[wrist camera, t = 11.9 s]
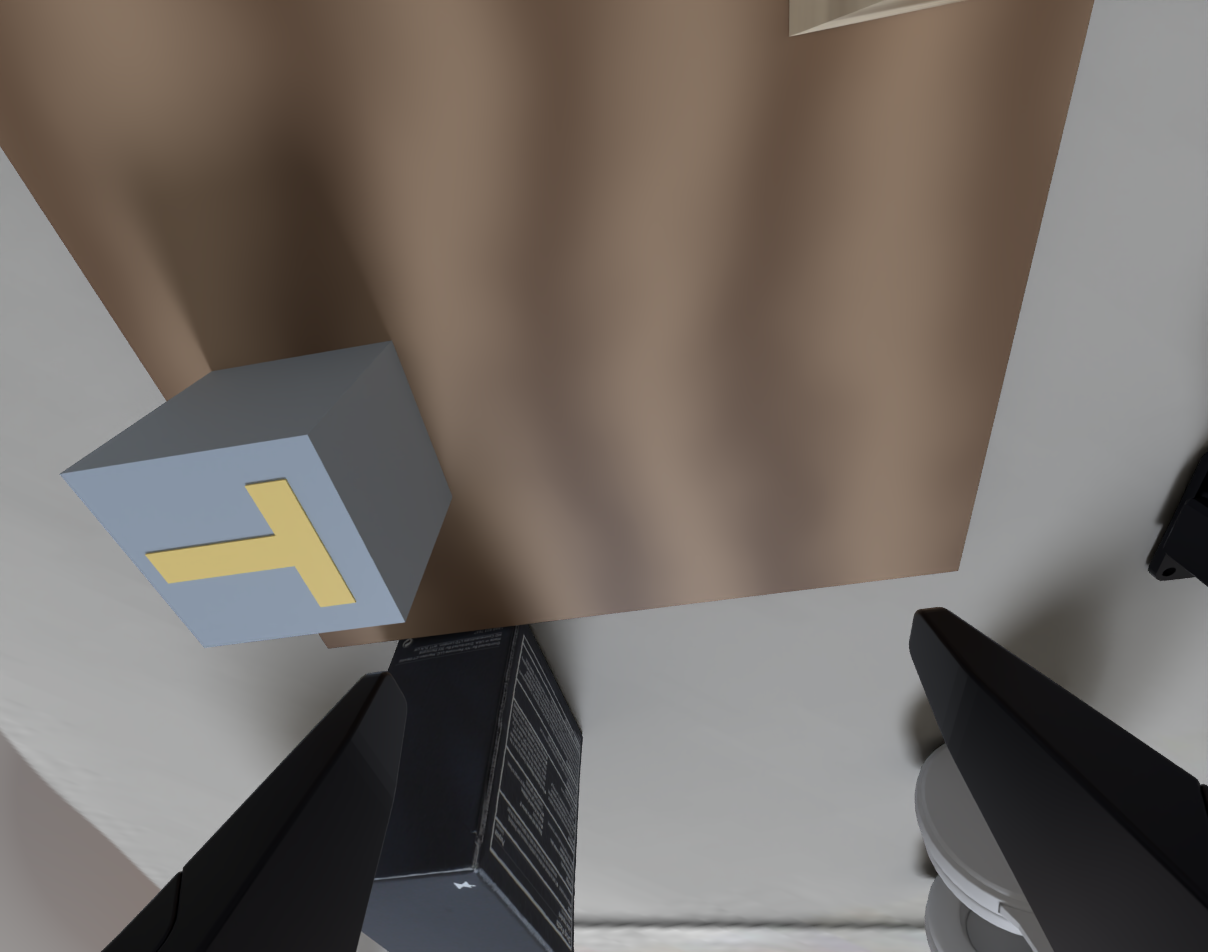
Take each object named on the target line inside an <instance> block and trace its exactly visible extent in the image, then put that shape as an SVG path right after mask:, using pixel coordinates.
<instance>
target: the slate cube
mask: <svg viewBox="0 0 1208 952" xmlns="http://www.w3.org/2000/svg"><path fill="white" fill-rule="evenodd" d="M60 475H61V476H62V477H63V479H64V480H65V481H66V482H67V483H68V485H69V486H70V487H71V488H72V489H73V491H74V492H75V493H76V494H77V495H78V497H79V498H80V499H81V500H82V501H83V503H84V504H85V505H86V506H87V507H88V509H89V510H90V511H91V512H92V513H93V515H94V516H95V517H96V518H97V519H98V521H99V522H100V523H101V524H102V525H103V527H104V528H105V529H106V530H107V531H108V533H109V534H110V535H111V536H112V537H113V539H114V540H115V541H116V542H117V543H118V545H119V546H120V547H121V548H122V549H123V551H124V552H125V553H126V554H127V555H128V557H129V558H130V559H131V560H132V561H133V563H134V564H135V565H136V566H137V567H138V569H139V570H140V571H141V572H142V574H143V575H144V576H145V577H146V578H147V580H148V581H149V582H150V583H151V584H152V586H153V587H154V588H155V589H156V590H157V592H158V593H159V594H160V595H161V596H162V598H163V599H164V600H165V601H166V602H167V604H168V605H169V606H170V607H171V608H172V610H173V611H174V612H175V613H176V614H177V616H178V617H179V618H180V619H181V620H182V622H183V623H184V624H185V625H186V626H187V628H188V629H189V630H190V631H191V632H192V634H193V635H194V636H195V637H196V638H197V640H198V641H199V642H200V643H201V644H202V646H203V647H204V648H206V647H214V646H222V645H230V644H238V643H246V642H254V641H262V640H269V639H277V638H285V637H293V636H301V635H309V634H317V633H325V632H333V631H341V630H348V629H356V628H364V627H372V626H380V625H388V624H396V623H404V622H406V619H407V616H408V614H409V611H410V608H411V606H412V603H413V600H414V598H415V595H416V592H417V590H418V587H419V584H420V582H421V579H422V577H423V574H424V571H425V569H426V566H427V563H428V561H429V558H430V555H431V553H432V550H433V547H434V545H435V542H436V539H437V537H438V534H439V532H440V529H441V526H442V524H443V521H444V518H445V516H446V513H447V510H448V508H449V505H450V502H451V500H452V494H451V492H450V489H449V487H448V484H447V481H446V479H445V476H444V474H443V471H442V469H441V466H440V463H439V461H438V458H437V456H436V453H435V450H434V448H433V445H432V443H431V440H430V437H429V435H428V432H427V430H426V427H425V425H424V422H423V419H422V417H421V414H420V412H419V409H418V406H417V404H416V401H415V399H414V396H413V394H412V391H411V388H410V386H409V383H408V381H407V378H406V375H405V373H404V370H403V368H402V365H401V363H400V360H399V357H398V355H397V352H396V350H395V347H394V344H393V342H392V340H391V341H386V342H380V343H374V344H368V345H362V346H356V347H351V348H345V349H339V350H333V351H327V352H321V353H316V354H310V355H304V356H298V357H292V358H286V359H280V360H275V361H269V362H263V363H257V364H251V365H245V366H240V367H234V368H228V369H222V370H216V371H211V372H210V373H208V374H207V375H205V376H204V377H202V378H201V379H199V380H198V381H196V382H195V383H193V384H192V385H191V386H189V387H188V388H186V389H185V390H183V391H182V392H180V393H179V394H177V395H176V396H174V397H173V398H171V399H170V400H168V401H167V402H165V403H164V404H162V405H161V406H159V407H158V408H157V409H155V410H154V411H152V412H151V413H149V414H148V415H146V416H145V417H143V418H142V419H140V420H139V421H137V422H136V423H134V424H133V425H131V426H130V427H128V428H127V429H125V430H124V431H122V432H121V433H120V434H118V435H117V436H115V437H114V438H112V439H111V440H109V441H108V442H106V443H105V444H103V445H102V446H100V447H99V448H97V449H96V450H94V451H93V452H91V453H90V454H88V455H87V456H85V457H84V458H83V459H81V460H80V461H78V462H77V463H75V464H74V465H72V466H71V467H69V468H68V469H66V470H65V471H63V472H62V473H60Z"/></svg>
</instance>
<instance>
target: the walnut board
mask: <svg viewBox="0 0 1208 952" xmlns="http://www.w3.org/2000/svg"><path fill="white" fill-rule="evenodd" d="M1093 4H1094V0H966V1H961V2H956V3H951V4H946V5H941V6H937V7H932V8H927V9H922V10H917V11H912V12H907V13H902V14H898V15H893V16H888V17H883V18H878V19H873V20H868V21H863V22H859V23H854V24H849V25H844V26H839V27H834V28H829V29H824V30H820V31H815V32H810V33H805V34H800V35H795V36H790V37H789V0H0V146H1V148H2V150H3V151H4V153H5V154H6V156H7V157H8V159H9V160H10V162H11V163H12V165H13V166H14V168H15V169H16V171H17V173H18V174H19V176H20V177H21V179H22V180H23V182H24V183H25V185H26V186H27V188H28V189H29V191H30V192H31V194H32V196H33V197H34V199H35V200H36V202H37V203H38V205H39V206H40V208H41V209H42V211H43V212H44V214H45V215H46V217H47V218H48V220H49V222H50V223H51V225H52V226H53V228H54V229H55V231H56V232H57V234H58V235H59V237H60V238H61V240H62V241H63V243H64V245H65V246H66V248H67V249H68V251H69V252H70V254H71V255H72V257H73V258H74V260H75V261H76V263H77V264H78V266H79V268H80V269H81V271H82V272H83V274H84V275H85V277H86V278H87V280H88V281H89V283H90V284H91V286H92V287H93V289H94V291H95V292H96V294H97V295H98V297H99V298H100V300H101V301H102V303H103V304H104V306H105V307H106V309H107V310H108V312H109V314H110V315H111V317H112V318H113V320H114V321H115V323H116V324H117V326H118V327H119V329H120V330H121V332H122V333H123V335H124V337H125V338H126V340H127V341H128V343H129V344H130V346H131V347H132V349H133V350H134V352H135V353H136V355H137V356H138V358H139V360H140V361H141V363H142V364H143V366H144V367H145V369H146V370H147V372H148V373H149V375H150V376H151V378H152V379H153V381H154V383H155V384H156V386H157V387H158V389H159V390H160V392H161V393H162V395H163V396H164V398H165V399H166V401H168V400H170V399H171V398H173V397H174V396H176V395H177V394H179V393H180V392H182V391H183V390H185V389H186V388H188V387H189V386H191V385H192V384H193V383H195V382H196V381H198V380H199V379H201V378H202V377H204V376H205V375H207V374H208V373H210V372H211V371H216V370H222V369H228V368H234V367H240V366H245V365H251V364H257V363H263V362H269V361H275V360H280V359H286V358H292V357H298V356H304V355H310V354H316V353H321V352H327V351H333V350H339V349H345V348H351V347H356V346H362V345H368V344H374V343H380V342H386V341H391V340H392V342H393V344H394V347H395V350H396V352H397V355H398V357H399V360H400V363H401V365H402V368H403V370H404V373H405V375H406V378H407V381H408V383H409V386H410V388H411V391H412V394H413V396H414V399H415V401H416V404H417V406H418V409H419V412H420V414H421V417H422V419H423V422H424V425H425V427H426V430H427V432H428V435H429V437H430V440H431V443H432V445H433V448H434V450H435V453H436V456H437V458H438V461H439V463H440V466H441V469H442V471H443V474H444V476H445V479H446V481H447V484H448V487H449V489H450V492H451V494H452V500H451V502H450V505H449V508H448V510H447V513H446V516H445V518H444V521H443V524H442V526H441V529H440V532H439V534H438V537H437V539H436V542H435V545H434V547H433V550H432V553H431V555H430V558H429V561H428V563H427V566H426V569H425V571H424V574H423V577H422V579H421V582H420V584H419V587H418V590H417V592H416V595H415V598H414V600H413V603H412V606H411V608H410V611H409V614H408V616H407V619H406V622H404V623H396V624H388V625H380V626H372V627H364V628H356V629H348V630H341V631H333V632H325V633H318V634H319V635H320V637H321V638H322V640H323V642H324V643H325V645H326V646H327V648H328V649H329V648H337V647H345V646H353V645H361V644H369V643H377V642H386V641H394V640H402V639H410V638H418V637H426V636H434V635H442V634H450V633H458V632H467V631H475V630H483V629H491V628H499V627H507V626H515V625H523V624H531V623H539V622H547V621H556V620H564V619H572V618H580V617H588V616H596V615H604V614H612V613H620V612H628V611H637V610H645V609H653V608H661V607H669V606H677V605H685V604H693V603H701V602H709V601H718V600H726V599H734V598H742V597H750V596H758V595H766V594H774V593H782V592H790V591H799V590H807V589H815V588H823V587H831V586H839V585H847V584H855V583H863V582H871V581H879V580H888V579H896V578H904V577H912V576H920V575H928V574H936V573H944V572H952V571H958V569H959V565H960V561H961V557H962V553H963V548H964V544H965V540H966V536H967V532H968V527H969V523H970V519H971V515H972V511H973V506H974V502H975V498H976V494H977V490H978V486H979V481H980V477H981V473H982V469H983V465H984V460H985V456H986V452H987V448H988V444H989V439H990V435H991V431H992V427H993V423H994V418H995V414H996V410H997V406H998V402H999V398H1000V393H1001V389H1002V385H1003V381H1004V377H1005V372H1006V368H1007V364H1008V360H1009V356H1010V351H1011V347H1012V343H1013V339H1014V335H1015V331H1016V326H1017V322H1018V318H1019V314H1020V310H1021V305H1022V301H1023V297H1024V293H1025V289H1026V284H1027V280H1028V276H1029V272H1030V268H1031V263H1032V259H1033V255H1034V251H1035V247H1036V243H1037V238H1038V234H1039V230H1040V226H1041V222H1042V217H1043V213H1044V209H1045V205H1046V201H1047V196H1048V192H1049V188H1050V184H1051V180H1052V175H1053V171H1054V167H1055V163H1056V159H1057V155H1058V150H1059V146H1060V142H1061V138H1062V134H1063V129H1064V125H1065V121H1066V117H1067V113H1068V108H1069V104H1070V100H1071V96H1072V92H1073V88H1074V83H1075V79H1076V75H1077V71H1078V67H1079V62H1080V58H1081V54H1082V50H1083V46H1084V41H1085V37H1086V33H1087V29H1088V25H1089V20H1090V16H1091V12H1092V8H1093Z"/></svg>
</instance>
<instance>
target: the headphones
mask: <svg viewBox="0 0 1208 952" xmlns="http://www.w3.org/2000/svg"><path fill="white" fill-rule="evenodd" d="M915 811H916V816H917V821H918V825H919V828H920V830H921V833H922V836H923V841H924V844H925V847H926V850H927V852H928V855H929V858H930V860H931V861H932V863H933V865H934V867H935V869H936V871H937V872H938V875H937V877H936V878H935V880H934V882H933V884H932V886H931V889H930V892H929V895H928V901H927V904H926V910H925V930H926V935H927V941H928V944H929V947H930V950H931V952H1054V951H1053V949H1052V947H1051V945H1050V943H1049V941H1048V940H1047V938H1046V936H1045V934H1044V932H1043V930H1042V928H1041V926H1040V924H1039V922H1038V920H1037V919H1036V917H1035V915H1034V913H1033V911H1032V909H1031V907H1030V905H1029V903H1028V901H1027V899H1026V898H1025V896H1024V894H1023V892H1022V890H1021V888H1020V886H1019V884H1018V882H1017V880H1016V878H1015V877H1014V875H1013V873H1012V871H1011V869H1010V867H1009V865H1008V863H1007V861H1006V859H1005V857H1004V856H1003V854H1002V852H1001V850H1000V848H999V846H998V844H997V842H996V840H995V838H994V836H993V835H992V833H991V831H990V829H989V827H988V825H987V823H986V821H985V819H984V817H983V815H982V814H981V812H980V810H979V808H978V806H977V804H976V802H975V800H974V798H973V796H972V794H971V792H970V791H969V789H968V787H967V785H966V783H965V781H964V779H963V777H962V775H961V773H960V771H959V770H958V768H957V766H956V764H955V762H954V760H953V758H952V756H951V754H950V752H949V750H948V748H947V745H946V743H945V744H943V745H942V746H940V747H939V748H937V749H936V750H934V752H933V753H932V754H931V755H930V756H929V757H928V758H927V759H926V761H925V763H924V764H923V766H922V767H921V770H920V773H919V776H918V779H917V783H916V790H915Z"/></svg>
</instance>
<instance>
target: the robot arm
mask: <svg viewBox="0 0 1208 952" xmlns="http://www.w3.org/2000/svg"><path fill="white" fill-rule="evenodd" d="M1148 571H1149V573H1150V574H1151V575H1153V576H1154V577H1155V578H1156V579H1158V580H1160V581H1166V580H1174V579H1183V578H1191V577H1196V578H1197V579H1199V580H1200V581H1201V582H1202V583H1204V584H1205V585H1206V586H1208V452H1207V453H1206V454H1204V456H1203V457H1202V458H1201V460H1200V462H1199V464H1198V466H1197V469H1196V471H1195V473H1194V475H1193V477H1192V479H1191V481H1190V483H1189V485H1188V487H1187V489H1186V491H1185V493H1184V495H1183V497H1182V499H1181V501H1180V504H1179V506H1178V508H1177V510H1176V512H1175V514H1174V516H1173V518H1172V520H1171V522H1170V524H1169V526H1168V528H1167V530H1166V532H1165V534H1164V536H1163V539H1162V541H1161V543H1160V545H1159V547H1158V549H1157V551H1156V553H1155V555H1154V557H1153V559H1152V561H1151V563H1150V565H1149V568H1148ZM909 650H910V654H911V657H912V660H913V663H914V665H915V668H916V670H917V673H918V675H919V678H920V680H921V683H922V685H923V688H924V691H925V693H926V696H927V698H928V701H929V703H930V706H931V708H932V711H933V713H934V716H935V718H936V721H937V723H938V726H939V729H940V731H941V733H942V736H943V738H944V741H945V743H946V745H947V748H948V750H949V752H950V754H951V756H952V758H953V760H954V762H955V764H956V766H957V768H958V770H959V771H960V773H961V775H962V777H963V779H964V781H965V783H966V785H967V787H968V789H969V791H970V792H971V794H972V796H973V798H974V800H975V802H976V804H977V806H978V808H979V810H980V812H981V814H982V815H983V817H984V819H985V821H986V823H987V825H988V827H989V829H990V831H991V833H992V835H993V836H994V838H995V840H996V842H997V844H998V846H999V848H1000V850H1001V852H1002V854H1003V856H1004V857H1005V859H1006V861H1007V863H1008V865H1009V867H1010V869H1011V871H1012V873H1013V875H1014V877H1015V878H1016V880H1017V882H1018V884H1019V886H1020V888H1021V890H1022V892H1023V894H1024V896H1025V898H1026V899H1027V901H1028V903H1029V905H1030V907H1031V909H1032V911H1033V913H1034V915H1035V917H1036V919H1037V920H1038V922H1039V924H1040V926H1041V928H1042V930H1043V932H1044V934H1045V936H1046V938H1047V940H1048V941H1049V943H1050V945H1051V947H1052V949H1053V951H1054V952H1208V786H1207V785H1205V784H1201V785H1200V783H1199V781H1198V780H1197V779H1196V778H1195V777H1194V776H1192V775H1191V774H1189V773H1188V772H1186V771H1185V770H1183V769H1182V768H1180V767H1179V766H1177V765H1176V764H1174V763H1173V762H1171V761H1170V760H1169V759H1167V758H1166V757H1164V756H1163V755H1161V754H1160V753H1158V752H1157V751H1155V750H1154V749H1152V748H1151V747H1149V746H1148V745H1146V744H1145V743H1143V742H1142V741H1141V740H1139V739H1138V738H1136V737H1135V736H1133V735H1132V734H1130V733H1129V732H1127V731H1126V730H1124V729H1123V728H1121V727H1120V726H1118V725H1117V724H1116V723H1114V722H1113V721H1111V720H1110V719H1108V718H1107V717H1105V716H1104V715H1102V714H1101V713H1099V712H1098V711H1096V710H1095V709H1093V708H1092V707H1090V706H1089V705H1088V704H1086V703H1085V702H1083V701H1082V700H1080V699H1079V698H1077V697H1076V696H1074V695H1073V694H1071V693H1070V692H1068V691H1067V690H1065V689H1064V688H1063V687H1061V686H1060V685H1058V684H1057V683H1055V682H1054V681H1052V680H1051V679H1049V678H1048V677H1046V676H1045V675H1043V674H1042V673H1040V672H1039V671H1037V670H1036V669H1035V668H1033V667H1032V666H1030V665H1029V664H1027V663H1026V662H1024V661H1023V660H1021V659H1020V658H1018V657H1017V656H1015V655H1014V654H1012V653H1011V652H1010V651H1008V650H1007V649H1005V648H1004V647H1002V646H1001V645H999V644H998V643H996V642H995V641H993V640H992V639H990V638H989V637H987V636H986V635H984V634H983V633H982V632H980V631H979V630H977V629H976V628H974V627H973V626H971V625H970V624H968V623H967V622H965V621H964V620H962V619H961V618H959V617H958V616H957V615H955V614H954V613H952V612H951V611H949V610H947V609H945V608H942V607H935V608H926V609H919V610H917V611H916V612H915V614H914V618H913V623H912V629H911V634H910V639H909ZM406 716H407V702H406V699H405V697H404V695H403V693H402V691H401V690H400V688H399V686H398V685H397V683H396V681H395V679H394V678H393V676H392V675H391V674H390V673H389V672H387V671H383V672H374V673H368V674H366V675H364V676H363V677H361V678H360V679H359V680H358V682H357V683H356V684H355V685H354V686H353V687H352V688H351V689H350V690H349V691H348V692H347V693H346V694H345V695H344V696H343V697H342V699H341V700H340V701H339V702H338V703H337V704H336V705H335V706H334V707H333V708H332V709H331V710H330V711H329V712H328V713H327V715H326V716H325V717H324V718H323V719H322V720H321V721H320V722H319V723H318V724H317V725H316V726H315V727H314V728H313V729H312V730H311V732H310V733H309V734H308V735H307V736H306V737H305V738H304V739H303V740H302V741H301V742H300V743H299V744H298V745H297V746H296V748H295V749H294V750H293V751H292V752H291V753H290V754H289V755H288V756H287V757H286V758H285V759H284V760H283V761H282V762H281V763H280V765H279V766H278V767H277V768H276V769H275V770H274V771H273V772H272V773H271V774H270V775H269V776H268V777H267V778H266V779H265V781H264V782H263V783H262V784H261V785H260V786H259V787H258V788H257V789H256V790H255V791H254V792H253V793H252V794H251V795H250V796H249V798H248V799H247V800H246V801H245V802H244V803H243V804H242V805H241V806H240V807H239V808H238V809H237V810H236V811H235V812H234V814H233V815H232V816H231V817H230V818H229V819H228V820H227V821H226V822H225V823H224V824H223V825H222V826H221V827H220V828H219V829H218V831H217V832H216V833H215V834H214V835H213V836H212V837H211V838H210V839H209V840H208V841H207V842H206V843H205V844H204V845H203V847H202V848H201V849H200V850H199V851H198V852H197V853H196V854H195V855H194V856H193V857H192V858H191V859H190V860H189V861H188V862H187V864H186V865H185V866H184V867H183V871H181V872H178V873H177V874H176V875H175V876H174V877H173V878H172V879H171V880H170V881H169V882H168V884H167V885H166V886H165V887H164V888H163V889H162V890H161V891H160V892H159V893H158V894H157V895H156V896H155V897H154V899H152V900H151V902H150V903H149V904H148V905H147V906H146V907H145V908H144V909H143V910H142V911H141V912H140V913H139V914H138V915H137V916H136V917H135V918H134V919H133V920H132V921H131V922H130V923H129V924H128V925H127V926H126V927H125V928H124V929H123V931H122V932H121V933H120V934H119V935H118V936H117V937H116V938H115V939H114V940H112V942H110V943H109V944H108V945H107V946H106V947H105V948H104V949H103V950H102V951H101V952H356V950H357V946H358V942H359V938H360V934H361V930H362V927H363V923H364V919H365V915H366V911H367V907H368V903H369V899H370V895H371V891H372V887H373V883H374V879H375V875H376V871H377V867H378V863H379V859H380V855H381V851H382V847H383V843H384V839H385V835H386V831H387V827H388V823H389V819H390V815H391V810H392V806H393V802H394V796H395V791H396V785H397V778H398V771H399V764H400V757H401V751H402V744H403V737H404V730H405V723H406Z"/></svg>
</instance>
